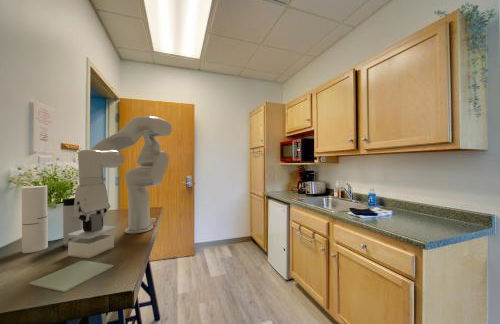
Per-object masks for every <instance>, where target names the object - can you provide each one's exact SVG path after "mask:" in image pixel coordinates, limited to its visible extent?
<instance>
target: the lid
mask: <svg viewBox="0 0 500 324" xmlns="http://www.w3.org/2000/svg"><path fill="white" fill-rule="evenodd" d="M89 220H90V221H91V231H84V230H83V229H82V230H79V231H76V232H73V233H70V234H68V236H69V237H77V238H86V239H91V238H94V237H96V236H99V235H102V234H108V233H109V232H112V231H115V230H117V229H118V226H115V225H104V224H103V227H102V214H98V213H96V212H94V213H93V212H92V213H90V218H89Z"/></svg>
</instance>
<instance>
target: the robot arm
mask: <svg viewBox="0 0 500 324" xmlns="http://www.w3.org/2000/svg"><path fill="white" fill-rule="evenodd" d="M172 127H173V126H172V124H171V122H169V121H168V120H166V119H163V118H160V117H157V116H152V115H148V116H147V115H146V116H145V115H144V116H135V117H133V118H131V119H130V120H129V121H128V122H127V123H126V124H125V125H124V126H123V127H122V128H121V129H120V130H119V131H118V132H116V133H114V134H111V135H110V136H108V137H106V138H104V139H101V140H100V141H98V142H97V143H96V144H95V145H93V147H91V148H90V149H82V150H79V152H78V153H77V158H78V159H77V160H78V161H77V162H78V163H77V164H78V185H79V186H76V189H75V194H74V198H75V201H74V212H73V214H72V216H74V217H77V218H79V219H80V220H81V221H82V222H83V230H84V231H91V221H90V220H89V218H90V214H91V213H93V212H94V213H98V214H102V227H103V225H104V217H105V215H106V213H107V211H108V210H110V209H111V205H110V203H109V200H108V198H109V197H108V191H107V187H106V184H105V181H106V180H107V179H106V177H104V168H105V169H113V168H118V167H120V166H122V165H123V163H124V161H125V156H124V154H123V153H122V152H120V151H121V150H124V149H128V148H131V147H132V146H134V145H135V144H136V143H137V142H138V141H139V139H141V137H142V138H143V140H144V142H143V145H142V148H141V150H140V152H139V155H138V157H137V160H136V164H137V166H138V167H133V168H130V169H129V170H127V172H126V174H125V182H126V183H125V184H126V187H127V196H128V198H127V199H128V200H127V202H128V203H127V204H128V206H127V208H128V209H127V210H128V214H127V215H128V227H126V228H125V229H124V232H125V233H126V234H140V233H146V232H148V231H151V230H152V229H154V225H153V224H152V223H154V222H156V221H157V218H156V217H152V218H151V215H150V212H151V211H150V210H151V209H150V208H151V207H150V192H149V190H148V188H147V187H157V186H160V185H161V183H162V182H163V179H164V177H165V174H166V171H167V169H168V167H169V161H170V160H169V155H168V153H167V152H166V151H164V150H161V144H160V142H159V141H158V139H157V137H167V136H170V135H171V134H172V132H173V128H172ZM80 212H82V214H79V213H80Z"/></svg>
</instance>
